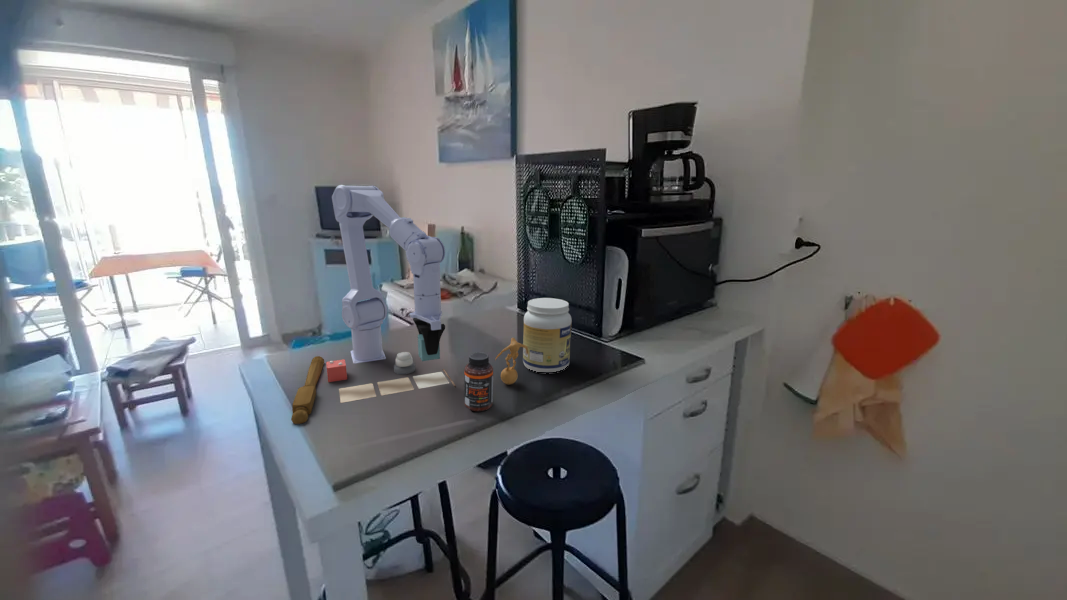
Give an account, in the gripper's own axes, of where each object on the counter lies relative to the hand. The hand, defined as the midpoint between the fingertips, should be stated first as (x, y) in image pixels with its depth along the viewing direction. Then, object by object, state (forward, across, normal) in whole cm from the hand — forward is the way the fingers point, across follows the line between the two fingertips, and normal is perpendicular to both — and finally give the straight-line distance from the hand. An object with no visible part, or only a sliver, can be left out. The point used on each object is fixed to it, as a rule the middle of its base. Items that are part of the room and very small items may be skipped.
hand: (429, 350), depth 98 cm
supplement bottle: (+8, +15, +6) cm, 18 cm away
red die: (+8, -10, -20) cm, 23 cm away
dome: (+6, -8, -4) cm, 11 cm away
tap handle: (+8, -6, -25) cm, 27 cm away
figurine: (+8, +9, +16) cm, 20 cm away
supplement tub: (+8, +2, +30) cm, 31 cm away
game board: (+8, 0, -8) cm, 11 cm away
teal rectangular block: (+2, 0, 0) cm, 2 cm away
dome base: (+8, -8, -4) cm, 12 cm away
